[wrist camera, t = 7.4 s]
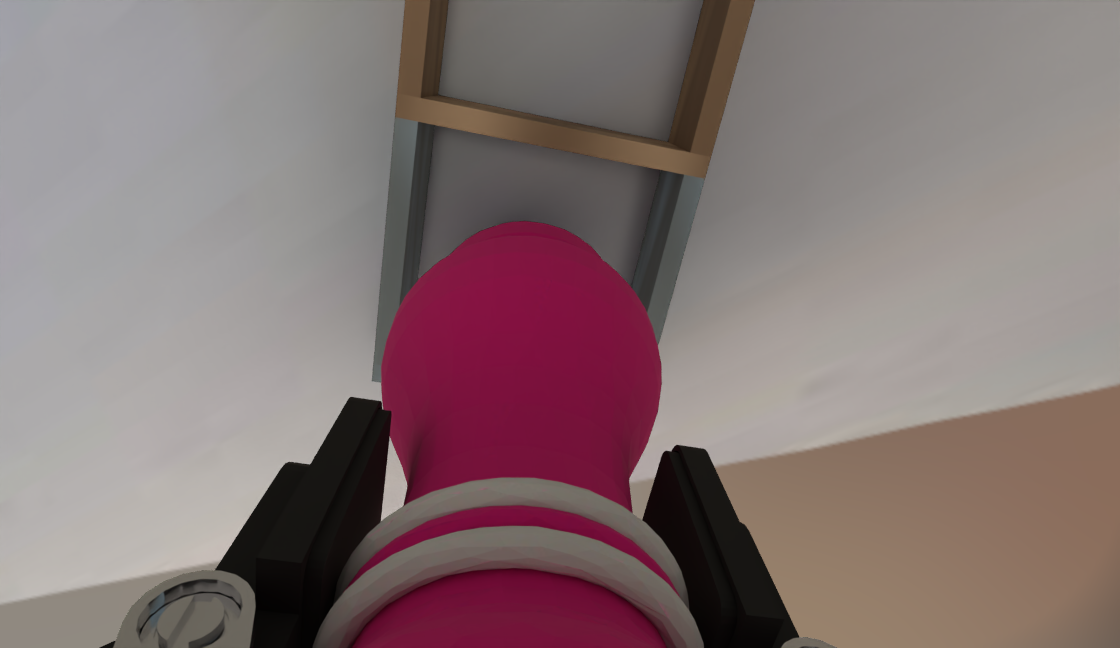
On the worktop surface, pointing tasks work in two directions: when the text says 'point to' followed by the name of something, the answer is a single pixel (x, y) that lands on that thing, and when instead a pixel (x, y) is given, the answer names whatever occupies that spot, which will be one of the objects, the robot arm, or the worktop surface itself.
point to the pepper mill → (516, 461)
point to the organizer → (675, 158)
